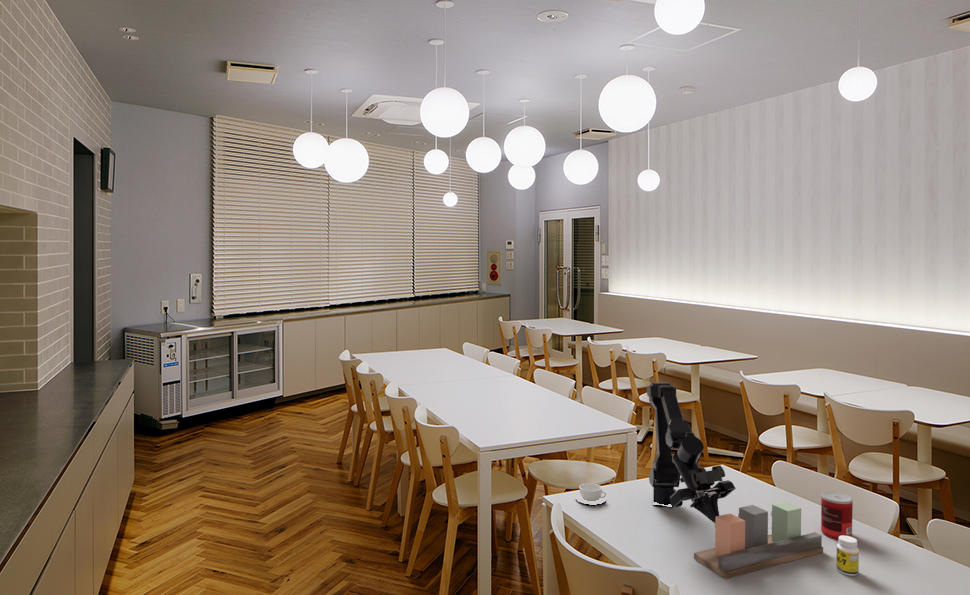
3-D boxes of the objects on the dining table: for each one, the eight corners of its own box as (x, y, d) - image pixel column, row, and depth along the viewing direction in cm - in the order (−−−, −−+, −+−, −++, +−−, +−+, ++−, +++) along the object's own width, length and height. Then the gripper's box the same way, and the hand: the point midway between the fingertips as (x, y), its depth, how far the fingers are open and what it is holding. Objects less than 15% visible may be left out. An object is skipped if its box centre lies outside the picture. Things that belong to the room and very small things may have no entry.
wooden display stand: (693, 558, 153) (693, 541, 153) (787, 535, 166) (788, 520, 165) (725, 578, 143) (725, 560, 142) (823, 552, 155) (823, 535, 155)
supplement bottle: (831, 567, 148) (832, 534, 147) (849, 566, 148) (849, 534, 148) (845, 577, 143) (845, 543, 143) (863, 576, 143) (863, 542, 143)
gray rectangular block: (735, 542, 158) (736, 506, 158) (749, 539, 160) (749, 503, 160) (753, 552, 153) (753, 514, 152) (767, 548, 155) (768, 511, 154)
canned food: (847, 530, 169) (848, 493, 168) (855, 542, 161) (856, 503, 161) (818, 526, 171) (818, 490, 171) (824, 538, 164) (824, 500, 163)
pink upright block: (712, 552, 153) (712, 515, 152) (727, 548, 155) (727, 512, 154) (729, 562, 147) (730, 524, 147) (744, 559, 149) (745, 520, 149)
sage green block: (768, 538, 160) (769, 503, 160) (781, 535, 162) (782, 500, 162) (787, 548, 155) (787, 511, 154) (800, 544, 157) (801, 508, 156)
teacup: (572, 504, 190) (572, 490, 190) (579, 493, 199) (579, 480, 199) (602, 508, 186) (602, 494, 186) (608, 497, 195) (608, 484, 195)
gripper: (677, 460, 155) (707, 516, 145) (730, 451, 162) (762, 505, 152) (657, 479, 162) (685, 535, 152) (709, 470, 169) (739, 522, 159)
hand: (718, 524), depth 154 cm, fingers closed
